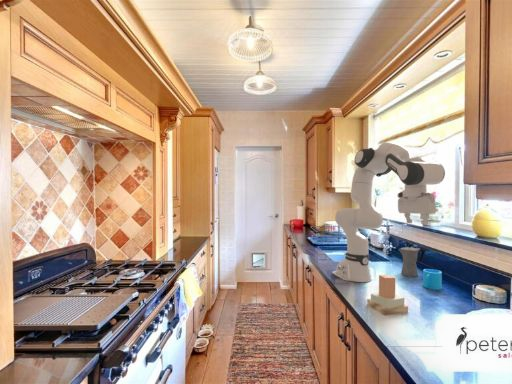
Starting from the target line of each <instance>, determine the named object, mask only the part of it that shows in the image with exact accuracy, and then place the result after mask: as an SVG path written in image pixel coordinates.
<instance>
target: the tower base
mask: <svg viewBox="0 0 512 384" xmlns="http://www.w3.org/2000/svg"><path fill="white" fill-rule="evenodd" d="M366 302H367V303H366V304H367V305H366V306H369V307H370V308H371V309H374V310H375V311H378V312H379V313H380V314H381V315H384V316H389V315H397V314H399V315H400V314H406V313H407V314H408V313H409V305H406V304H404V305H403V306H398V307H394V308H390V309H388V308H386V307H384V306H381V305H379V304H377V303H374V302H372V301H371V298H367V301H366Z"/></svg>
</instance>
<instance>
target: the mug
mask: <svg viewBox="0 0 512 384" xmlns="http://www.w3.org/2000/svg"><path fill="white" fill-rule="evenodd" d="M422 270H423V271H422V286H423V287H424V288H426V289H429V290H436V291H437V290H442V288H443V287H442V284H443V283H442V280H443V274H442V273H443V272H442V271H441V270H438V269H431V268H424V269H422Z"/></svg>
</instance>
